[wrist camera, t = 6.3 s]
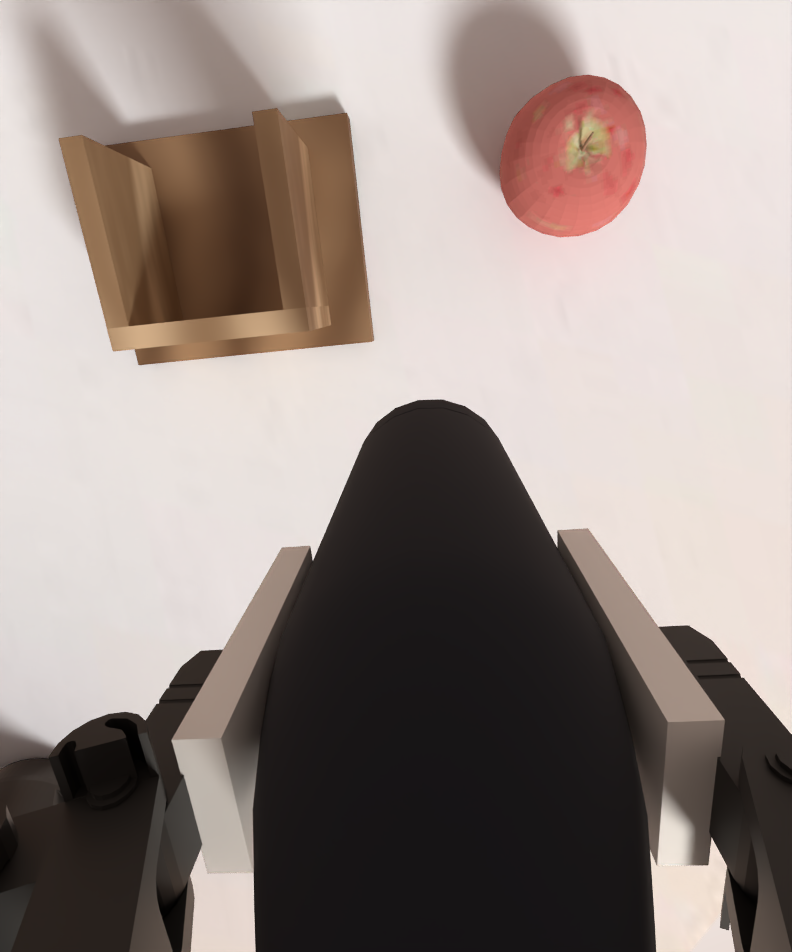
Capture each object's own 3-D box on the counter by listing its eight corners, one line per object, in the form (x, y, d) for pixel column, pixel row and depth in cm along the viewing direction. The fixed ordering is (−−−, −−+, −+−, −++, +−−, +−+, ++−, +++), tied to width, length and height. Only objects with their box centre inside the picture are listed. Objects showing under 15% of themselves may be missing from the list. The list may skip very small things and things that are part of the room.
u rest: (147, 363, 38) (75, 379, 30) (97, 153, 34) (-1, 109, 26) (373, 340, 37) (360, 351, 29) (349, 119, 33) (325, 63, 25)
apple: (491, 113, 32) (511, 56, 25) (618, 101, 32) (679, 39, 24) (492, 248, 34) (511, 233, 27) (611, 239, 34) (664, 222, 26)
